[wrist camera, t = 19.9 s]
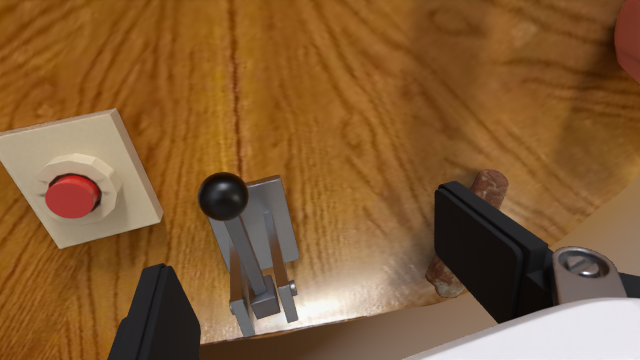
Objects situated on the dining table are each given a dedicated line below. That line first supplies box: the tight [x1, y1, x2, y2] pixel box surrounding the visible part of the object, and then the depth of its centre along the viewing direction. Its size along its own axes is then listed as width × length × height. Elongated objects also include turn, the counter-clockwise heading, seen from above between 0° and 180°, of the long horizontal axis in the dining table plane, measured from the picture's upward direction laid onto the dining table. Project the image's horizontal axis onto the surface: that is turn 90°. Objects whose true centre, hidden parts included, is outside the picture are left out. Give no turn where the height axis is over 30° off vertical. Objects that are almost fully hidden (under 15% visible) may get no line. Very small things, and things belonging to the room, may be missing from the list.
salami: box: [425, 169, 509, 298], centre depth 47 cm, size 6×19×6 cm, turn 161°
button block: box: [0, 108, 163, 249], centre depth 32 cm, size 12×10×4 cm
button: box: [45, 175, 99, 219], centre depth 30 cm, size 4×4×2 cm
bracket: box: [208, 175, 300, 338], centre depth 35 cm, size 12×9×14 cm
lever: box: [198, 172, 281, 319], centre depth 26 cm, size 16×3×3 cm, turn 10°
